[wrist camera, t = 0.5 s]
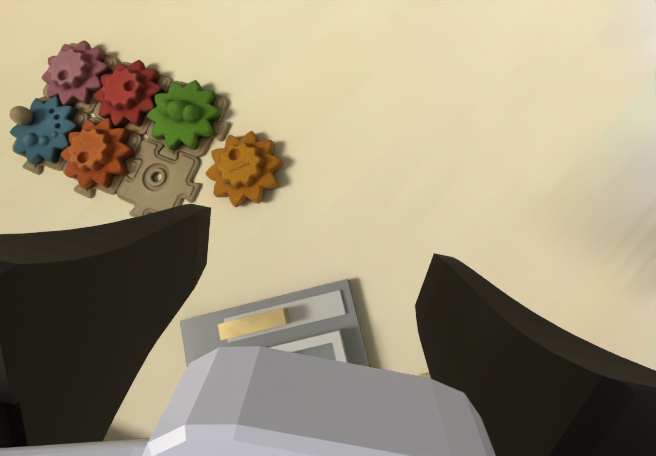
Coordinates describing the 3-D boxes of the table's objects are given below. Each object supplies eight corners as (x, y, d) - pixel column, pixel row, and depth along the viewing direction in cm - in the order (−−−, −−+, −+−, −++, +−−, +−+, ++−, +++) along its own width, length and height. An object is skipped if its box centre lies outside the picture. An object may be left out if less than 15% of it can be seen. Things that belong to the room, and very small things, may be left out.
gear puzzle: (309, 126, 39) (302, 107, 35) (245, 267, 37) (230, 264, 33) (74, 42, 45) (45, 18, 41) (8, 162, 43) (-29, 148, 39)
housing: (386, 435, 33) (390, 466, 27) (209, 474, 34) (175, 513, 28) (347, 279, 35) (343, 276, 29) (184, 320, 36) (149, 325, 31)
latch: (290, 322, 34) (286, 324, 32) (228, 337, 34) (220, 340, 33) (287, 307, 34) (282, 308, 32) (225, 322, 35) (217, 324, 33)
